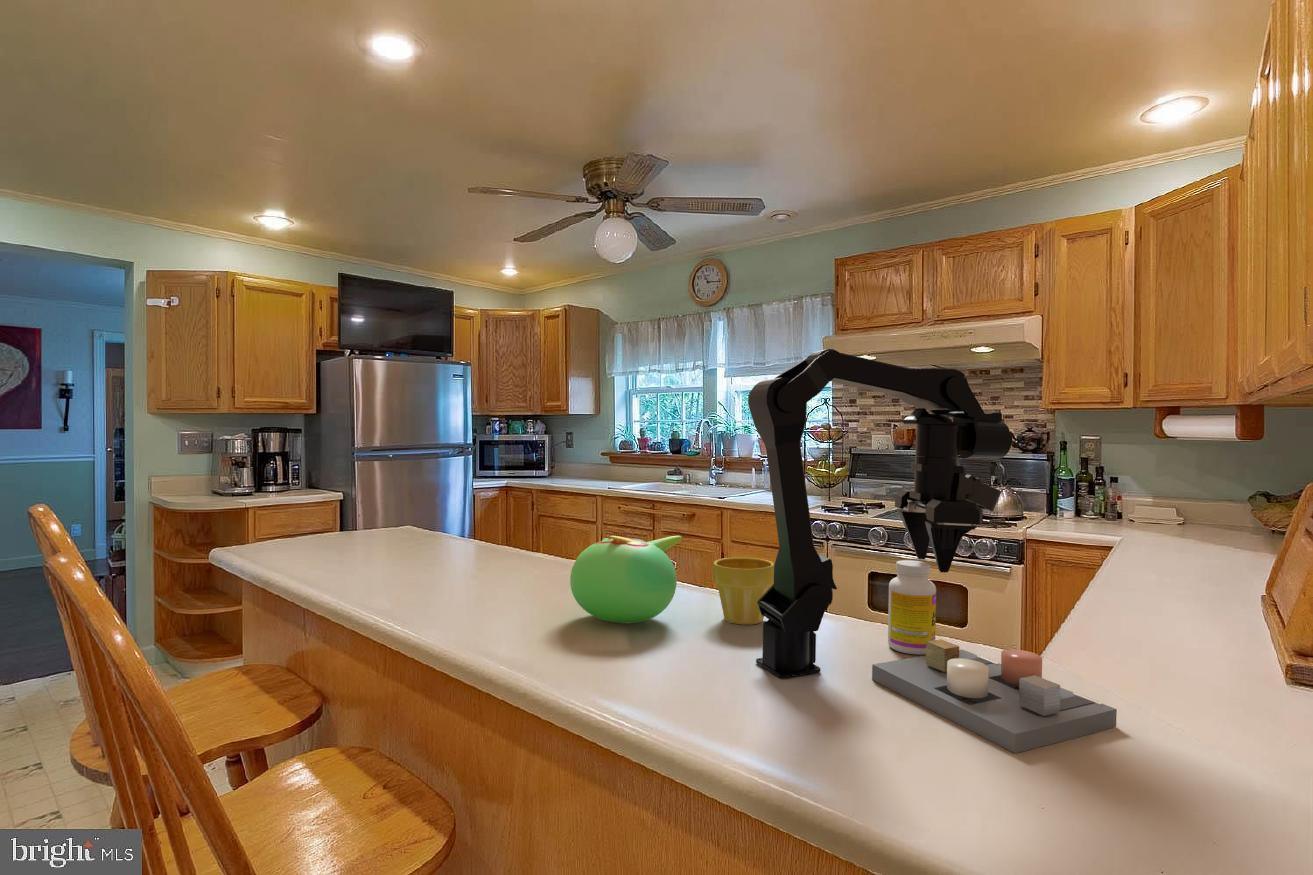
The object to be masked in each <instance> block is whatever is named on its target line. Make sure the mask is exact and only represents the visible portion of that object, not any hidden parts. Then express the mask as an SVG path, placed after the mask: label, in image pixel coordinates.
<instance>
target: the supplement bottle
mask: <svg viewBox="0 0 1313 875" xmlns="http://www.w3.org/2000/svg"><path fill="white" fill-rule="evenodd" d="M930 566H931V565H930V564H929V563H928V562H924V561H919V560H911V559H905V560H904V559H903V560H897V561H896V563H895V570H896V572H897V575H896V577H893V578H892V579H891V580H890V581H889V583H888V616H887V618H888V619H887V621H888V622H887V643H888V646H889V647H890V648H891V649H893V650H895V651H897V652H899V653H902V654H907V655H914V656H915V655H918V656H920V655H921V656H925V655H926V644H927V641H933V640H936V632H937V631H936V626H937V625H936V624H937V623H936V622H937V620H936V618H937V613H936V612H937V586H936V585H935V583H933V582H932V581H931V580H929V578H928V576H929V574H930V573H931V572H930V571H931V569H930Z"/></svg>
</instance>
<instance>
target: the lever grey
mask: <svg viewBox="0 0 1313 875" xmlns="http://www.w3.org/2000/svg"><path fill="white" fill-rule="evenodd" d="M1060 687H1061V684H1059V683H1057V682H1053V681H1051V680H1048V679H1047V678H1046V679H1045V678H1043V677H1042V678H1041V677H1038V676H1035V675H1034V676H1029V677H1024V678H1020V679H1019V688H1018V690H1019V705H1020V706H1022V707H1024V708H1027V709H1029V710H1031V711H1033V712H1036V713H1038V714H1040V715H1043V716H1046V715H1051V714H1055V713H1059V712H1060Z"/></svg>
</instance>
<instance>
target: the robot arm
mask: <svg viewBox="0 0 1313 875" xmlns="http://www.w3.org/2000/svg"><path fill="white" fill-rule="evenodd" d="M830 382H833V383H837V384H842V385H846V386H851V387H855V388H860V389H865V390H871V391H875V392H878V393H883V394H888V395H892V396H894V397H897V398H899V399H900V400H901V401H902V402H904V403H905V404H908V405H910V406H913V407H915V408H914V409H913V411H912V412H911V413H910V414H909V415H907V416H906V417H905V418H903V420H902V423H903V424H904V425H910V426H911V425H913V426H914V425H915V426H916V432H915V433H916V434H915V435H916V436H915V437H916V439H915V458H914V459H915V460H914V461H915V462H910V470H913V471H914V480H913V481H914V482H913V485H914V486H913V489H900V490H899V491H898V492H897V493H896V494H895V495H894V507H895V508H897V514H899V517H900V519H901V521H902V523H903V526H904V529H905V530H906V532H907V535H908V537H909V538H908V539H909V541H910V543H911V545H912V548H913V550H914V553H915V555H916V558H917V559H918V560H926V558H927V555H928V551H929V546H930V545H931V547H932V548H931V549H932V551H933V555H934V559H935V562H936V566H937V569H938V571H939V572H940V573H944V574H945V573H949V571H950V568H951V566H952V563H953V560H954V558H955V555H956V552H957V550H958V547H959V545H960V543H961V541H962V538H963V537H964V536H965V535H967V534H968V533H970V531H973V530H976V529H977V527H978V525H982V524H983V512H984V510H988V511H990V512H994V511H995V508H996V506H997V503H998V501H999V498H1000V496H1001V494H1002V491H1001V490H999V489H998V488H995V487H992V486H990V485H988V484H985V483H982V481H981V478H980V477H977V476H976V477H975V476H973V475H972V474H967V473H966V468H965V467H964V465H959V457H960V458H963V459H989V460H990V459H991V460H993V459H994V460H995V459H996V460H999V459H1003V458H1005V457H1006V456H1007V454H1008V453H1009V451H1010V450H1011V447H1012V446H1013V445H1012V444H1013V436H1012V434H1011V431H1010V428H1009V426H1008V425H1007V423H1005V422H1004V421H1003V413H1001V412H985V411H984V410H983V408H982V406H981V404H980V402H979V401H978V399H977V398H976V396H975V394H974V392H973V391H972V389H971V388H970V386H969V381H968V379H967V378H966V374H965V373H964V371H962V370H960V369H957V368H945V367H943V368H942V367H936V368H933V367H931V368H930V367H927V368H924V367H923V368H922V367H921V368H914V367H913V368H909V367H906V366H901V365H896V364H891V363H887V362H882V361H880V360H879V361H878V360H874V359H869V358H865V357H861V356H856V355H852V354H847V353H843V352H840V351H838V350H836V349H834V348H826V349H825V348H824V349H821V350H816V351H814V352H811V353H810V354H809V355H808V356H807V357H805V358H804V359H803V360H802V361H800V362H799V363H797V364H796V365H794V366H792V367H791V368H788V369H787V370H785V371H783V372H782V373H780V374H779V375H777V376H775V377H774V378H770V379H765V380H762V381H759V382H758V383H756V384H754V385H753V387H752V389H751V390H750V391H749V393H748V397H747V404H748V408H749V411H750V415H751V418H752V422H753V425H754V427H755V429H756V431H757V433H758V434H759V436H760V438H761V440H762V442H763V444H764V447H765V451H766V459H767V465H768V473H769V480H770V488H771V493H772V494H771V495H772V501H773V508H774V510H773V511H774V516H775V523H776V525H775V526H776V530H777V532H776V533H777V539H778V540H777V541H778V551H777V554H776V559H775V561H774V563H773V564H774V583H773V584H772V585H771V586H770V588H769V589H768V590H767V591H766V593H765V594H764V595H763V596H762V597H761V598H760V599H759V600H758V602H757V604H758V607H759V610H760V613H761V615H762V616H764V617H765V618H766V619H767V620H766V621H765V620H763V621H762V657H759V658H756V659H755V663H756V664H758V665H759V666H760V667H763V668H764V669H765V670H767V671H769V672H770V673H772V674H774V675H775V676H776V677H778V678H781V679H785V678H786V679H787V678H792V677H797V676H805V675H809V674H816V673H820V672H821V669H822V668H821V667H820V666H818V665H816V664H815V663H816V662H817V660H816V659H817V658H816V657H817V656H816V655H817V653H816V652H817V634H816V632H818V631H819V628H820V626H821V623H822V620H823V617H824V614H825V613H826V610H827V609H829V608H828V607H829V606H831V605H832V604H833V603H832V602H833V599H834V598H833V596H834V593H833V590H838V587H837V586H836V583H835V581H834V580H835V579H834V577H833V576H834V575H833V574H834V572H833V571H834V570H833V568H834V565H833V561H832V559H831V558H828V557H826V556H825V555H821V554H819V553H818V551H817V550H816V547H815V543H814V537H813V529H812V523H811V520H812V519H811V514H810V508H809V506H810V505H809V499H808V492H807V486H806V485H807V484H806V477H805V468H804V463H803V461H804V460H803V455H802V448H801V447H802V445H801V443H802V437H803V435H804V430H805V429H806V428H805V427H806V423H807V408H808V406H807V405H808V403H809V401H811V400H812V399H814V398H815V397H816V396H818V395H819V394H820V393H821V392H822V391H823V389H824V388H825V387H826V386H827V385H828V384H829V383H830Z"/></svg>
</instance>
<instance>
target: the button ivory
mask: <svg viewBox="0 0 1313 875" xmlns="http://www.w3.org/2000/svg"><path fill="white" fill-rule="evenodd" d="M988 679H989V667H988V666H987V665H985V664H983V663H981V662H978V661H975V660H970V659H961V658H956V659H950V660H948V661H947V689H948V690H949V691H950V692H952V693H954V694H956V695H959V696H963V697H968V698H984V697H986V696H988Z"/></svg>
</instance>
